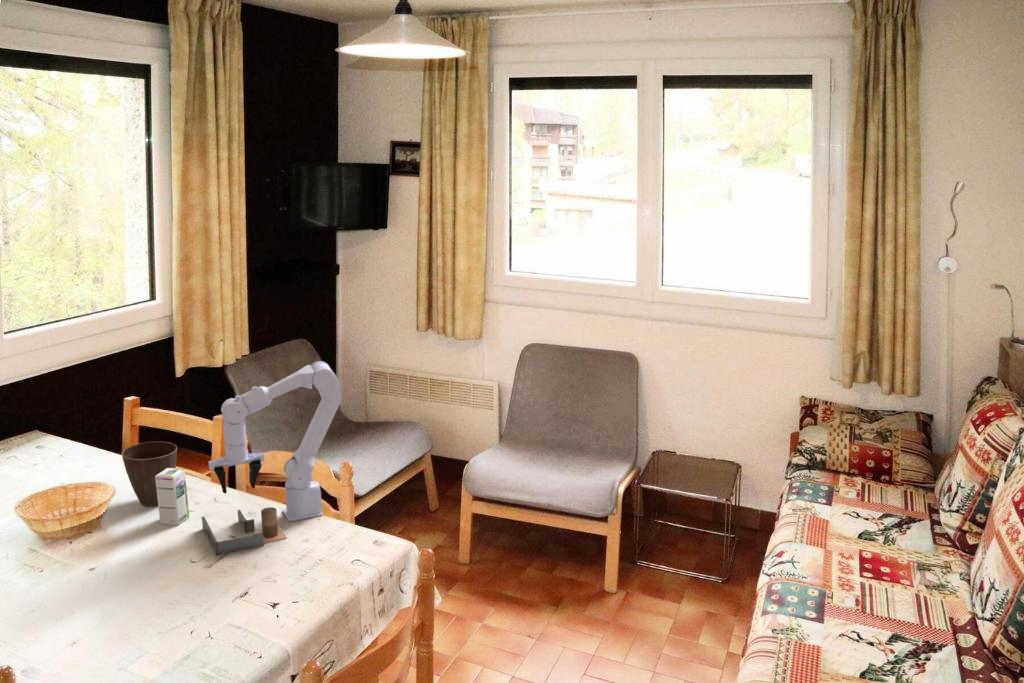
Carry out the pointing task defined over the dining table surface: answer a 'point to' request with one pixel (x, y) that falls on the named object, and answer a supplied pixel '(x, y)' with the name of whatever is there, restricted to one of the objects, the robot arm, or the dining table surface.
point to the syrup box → (172, 496)
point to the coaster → (278, 537)
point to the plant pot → (148, 467)
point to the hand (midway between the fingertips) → (238, 489)
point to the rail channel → (236, 543)
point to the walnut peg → (269, 522)
